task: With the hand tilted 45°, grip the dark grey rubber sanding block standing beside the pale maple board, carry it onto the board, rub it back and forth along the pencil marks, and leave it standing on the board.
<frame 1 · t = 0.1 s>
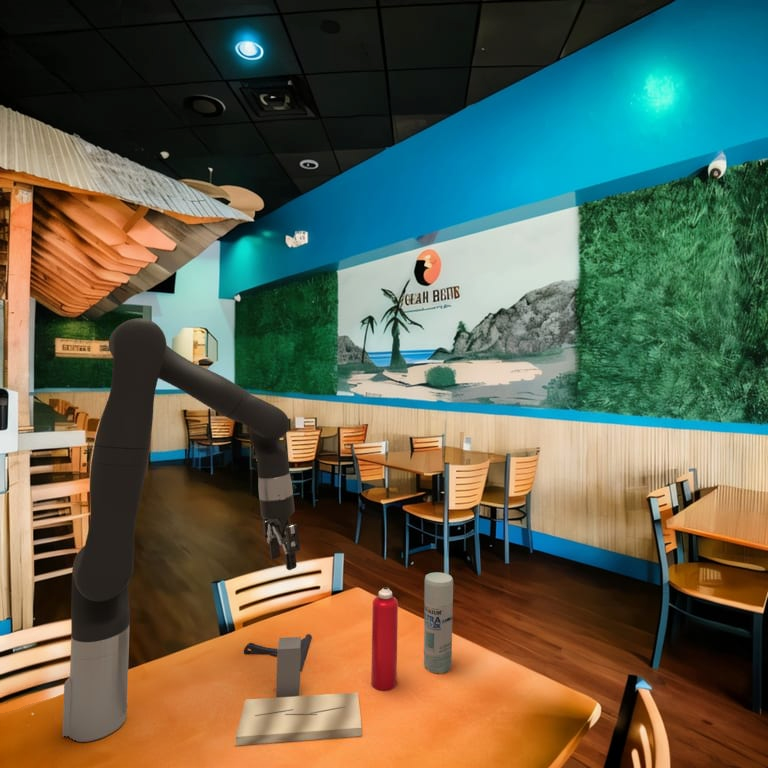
hand: (283, 563, 107), 22 cm above the table, tool pointing down, fingers open, 8 cm apart
squeegee: (275, 656, 110), on the table
bottle: (383, 683, 99), on the table
board: (301, 721, 87), on the table
sanding block: (288, 692, 96), on the table
spray paint can: (437, 666, 106), on the table
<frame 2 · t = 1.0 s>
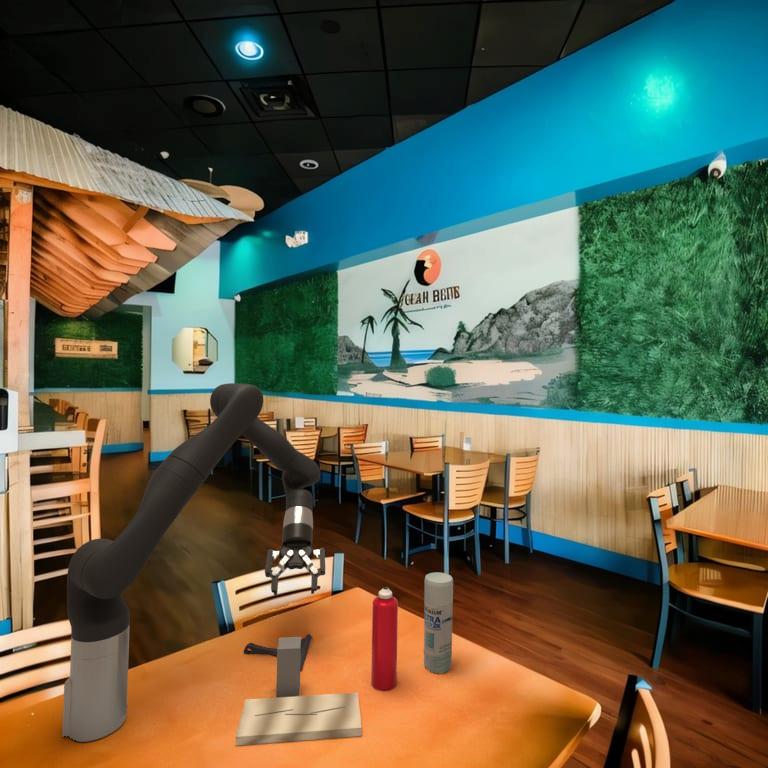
hand: (294, 593, 108), 15 cm above the table, tool tilted 45°, fingers open, 8 cm apart
nothing on the table moved.
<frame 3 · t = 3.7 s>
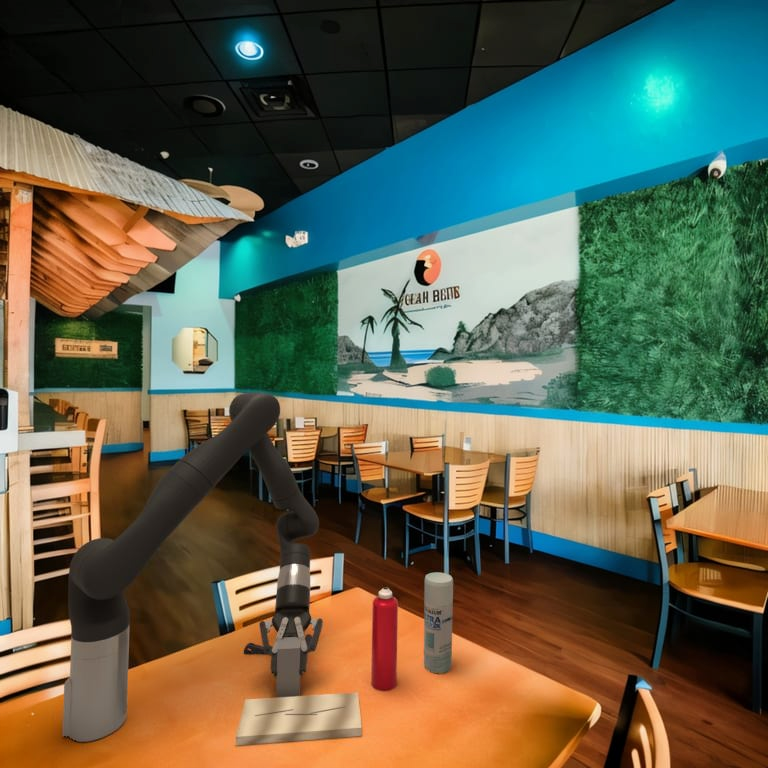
hand: (288, 674, 94), 5 cm above the table, tool tilted 45°, fingers closed on sanding block, 4 cm apart
sanding block: (288, 691, 96), on the table, touching gripper
everything else where it was.
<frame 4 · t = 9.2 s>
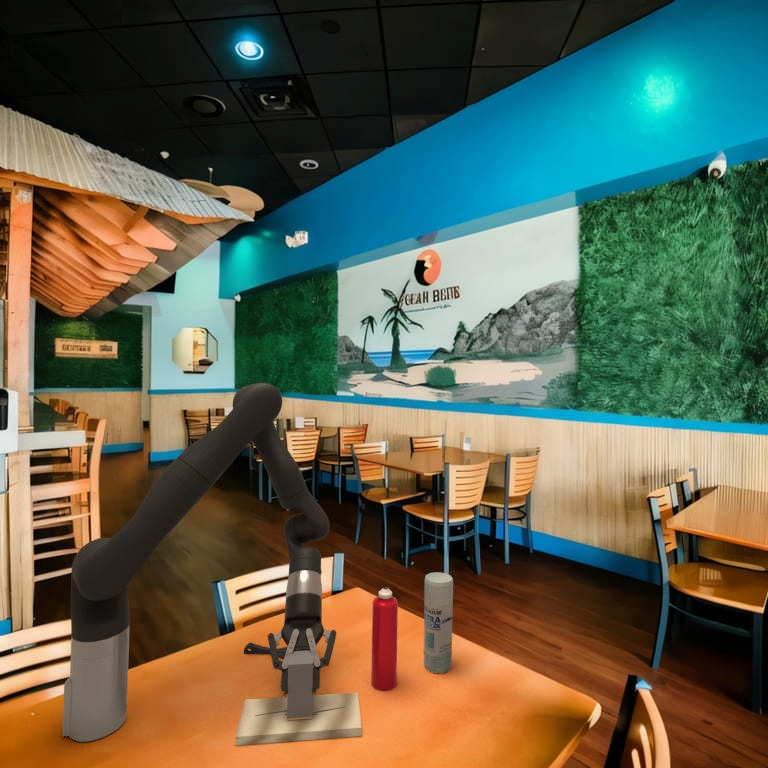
hand: (300, 692, 86), 6 cm above the table, tool tilted 45°, fingers closed on sanding block, 4 cm apart
sanding block: (300, 710, 88), point 2 cm above the table, touching gripper
everything else where it was.
when the fingers open (7 cm above the table, at t = 15.1 s): sanding block stays where it is, resting on board.
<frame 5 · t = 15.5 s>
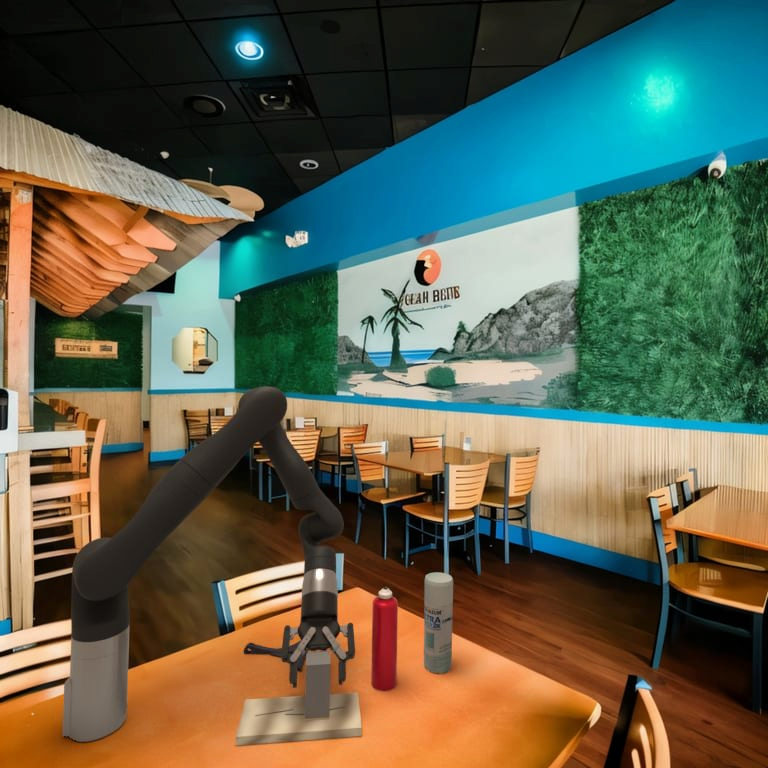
hand: (317, 685, 87), 7 cm above the table, tool tilted 45°, fingers open, 8 cm apart
sanding block: (317, 711, 88), point 2 cm above the table, touching board
everything else where it was.
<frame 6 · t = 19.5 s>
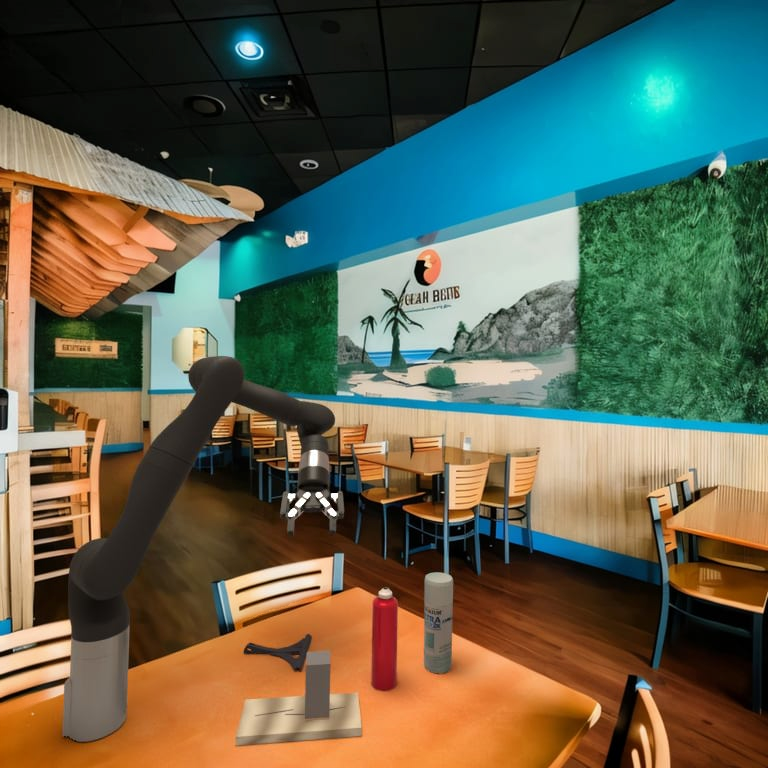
hand: (311, 534, 102), 31 cm above the table, tool tilted 45°, fingers open, 8 cm apart
nothing on the table moved.
at the end: sanding block inside the target area (3.0 cm from its centre), point 1.5 cm above the table; sanding block tilted 0°; sanding block moved 10.8 cm from its start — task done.
